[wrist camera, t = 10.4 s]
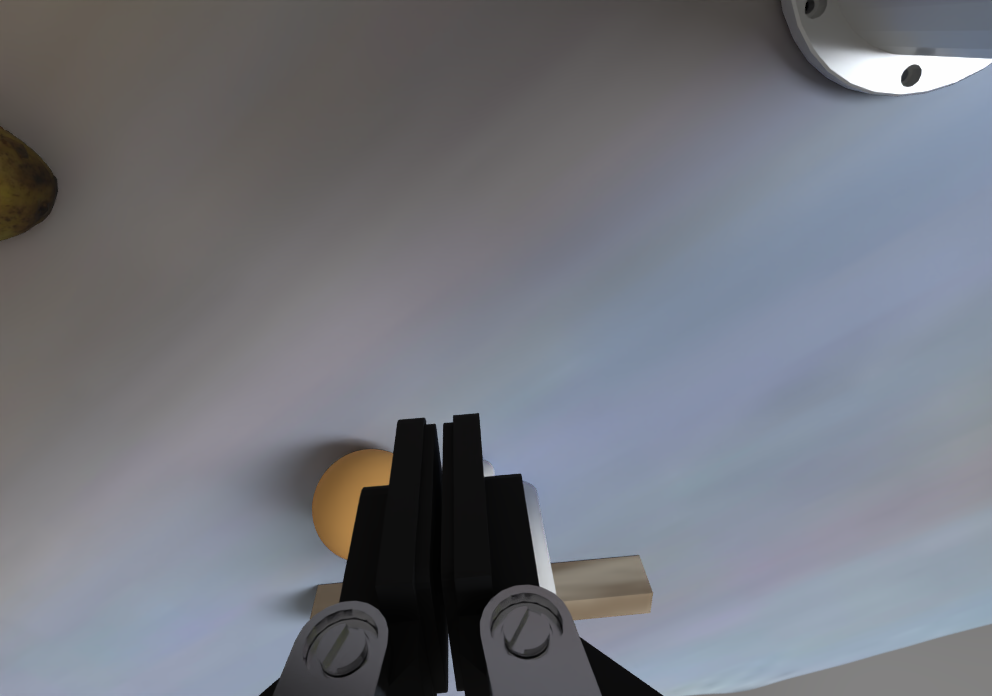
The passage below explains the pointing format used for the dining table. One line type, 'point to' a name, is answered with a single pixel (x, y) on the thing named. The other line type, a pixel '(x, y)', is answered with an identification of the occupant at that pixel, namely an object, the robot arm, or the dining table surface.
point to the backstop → (573, 588)
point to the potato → (23, 187)
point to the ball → (346, 495)
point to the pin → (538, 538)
